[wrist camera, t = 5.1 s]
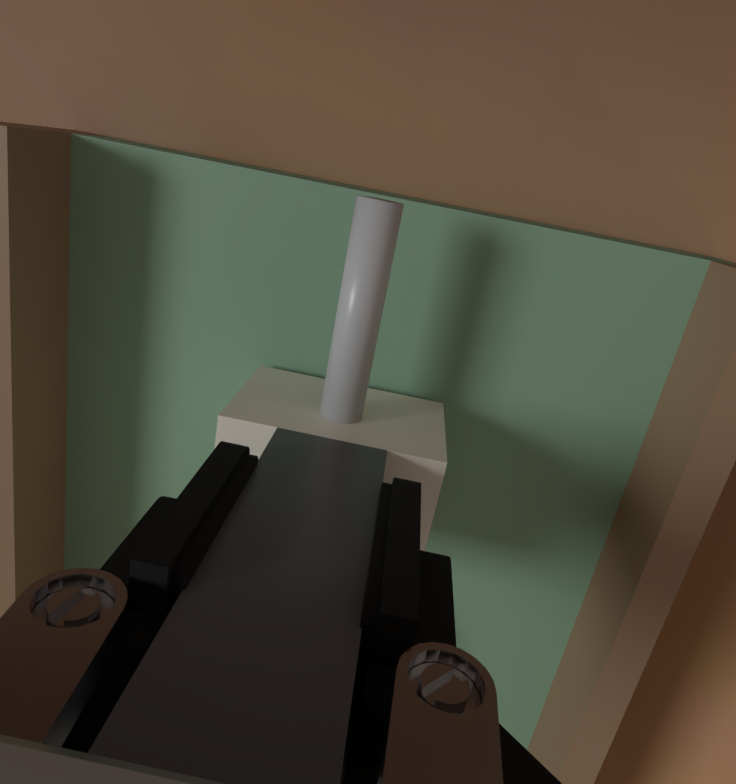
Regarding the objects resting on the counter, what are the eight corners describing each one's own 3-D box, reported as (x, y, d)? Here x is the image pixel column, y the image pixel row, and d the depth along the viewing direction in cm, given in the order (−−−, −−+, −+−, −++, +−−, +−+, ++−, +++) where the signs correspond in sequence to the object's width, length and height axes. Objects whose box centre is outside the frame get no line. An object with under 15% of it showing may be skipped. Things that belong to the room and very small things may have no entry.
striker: (285, 175, 15) (-247, 195, 3) (489, 216, 15) (731, 394, 3) (243, 494, 18) (-104, 1106, 6) (412, 529, 18) (383, 1222, 6)
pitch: (74, 130, 17) (-57, 115, 13) (716, 257, 17) (826, 291, 12) (63, 785, 26) (-16, 918, 22) (481, 878, 26) (493, 1034, 21)
